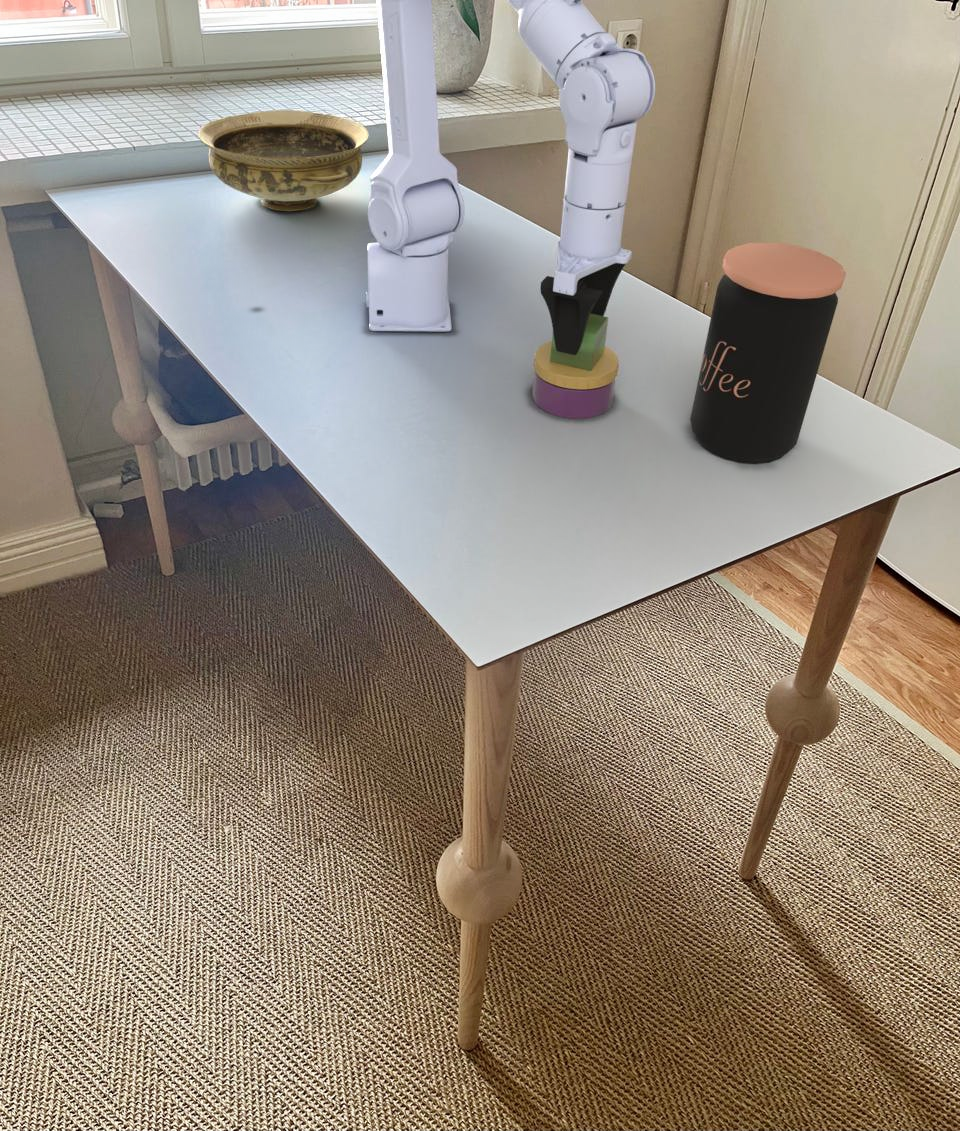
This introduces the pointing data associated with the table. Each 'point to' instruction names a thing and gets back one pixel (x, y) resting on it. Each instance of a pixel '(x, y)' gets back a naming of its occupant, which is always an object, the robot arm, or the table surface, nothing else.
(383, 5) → the robot arm
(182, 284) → the table surface
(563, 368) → the lid
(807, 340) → the coffee jar
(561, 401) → the jar
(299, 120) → the ceramic bowl
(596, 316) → the block
